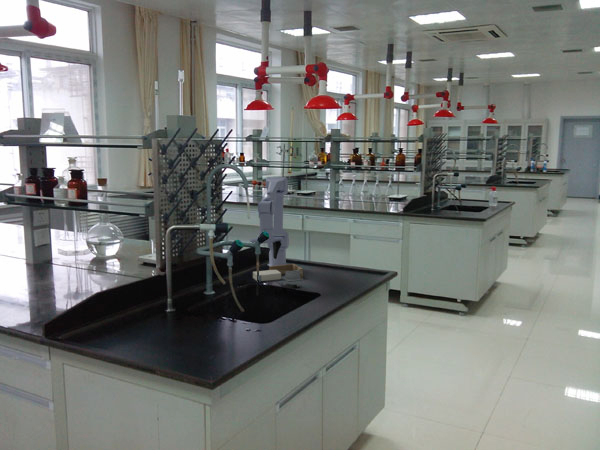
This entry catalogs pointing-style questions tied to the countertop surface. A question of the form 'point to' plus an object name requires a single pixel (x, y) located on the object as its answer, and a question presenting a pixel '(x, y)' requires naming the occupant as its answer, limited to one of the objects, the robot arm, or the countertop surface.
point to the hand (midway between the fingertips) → (266, 259)
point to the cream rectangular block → (267, 275)
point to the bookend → (293, 275)
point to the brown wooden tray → (287, 268)
